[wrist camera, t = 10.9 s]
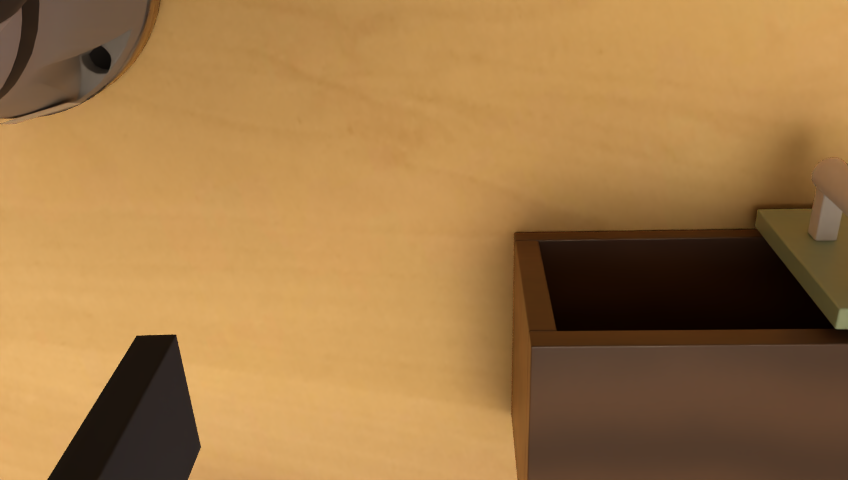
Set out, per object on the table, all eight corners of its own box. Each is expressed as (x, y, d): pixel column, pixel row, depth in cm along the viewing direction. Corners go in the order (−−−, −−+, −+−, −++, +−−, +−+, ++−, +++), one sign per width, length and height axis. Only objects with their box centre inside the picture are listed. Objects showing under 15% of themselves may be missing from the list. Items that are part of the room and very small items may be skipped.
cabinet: (514, 232, 43) (531, 346, 33) (1060, 224, 42) (1247, 340, 32) (511, 414, 48) (525, 560, 38) (997, 412, 47) (1141, 563, 37)
